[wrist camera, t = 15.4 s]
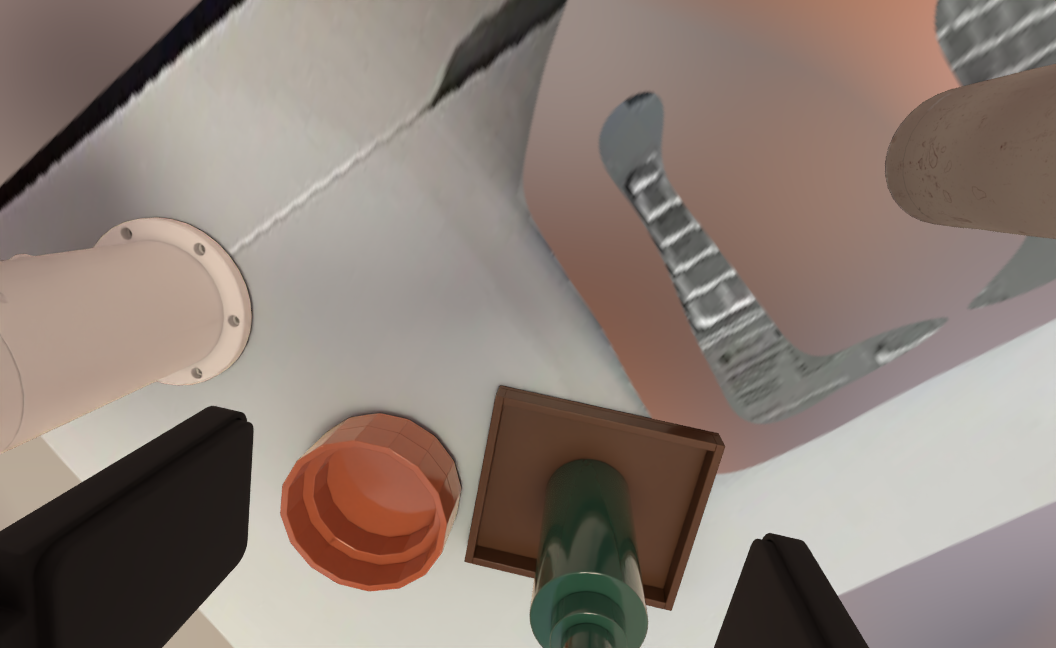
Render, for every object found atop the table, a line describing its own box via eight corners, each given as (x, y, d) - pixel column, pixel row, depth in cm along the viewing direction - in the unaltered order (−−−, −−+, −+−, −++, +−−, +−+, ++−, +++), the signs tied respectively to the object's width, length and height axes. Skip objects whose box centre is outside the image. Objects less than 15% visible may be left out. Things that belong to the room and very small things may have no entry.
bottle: (537, 522, 42) (507, 743, 25) (554, 449, 40) (533, 637, 24) (619, 541, 41) (641, 777, 25) (639, 469, 40) (677, 672, 23)
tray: (469, 545, 43) (464, 562, 41) (500, 384, 40) (495, 395, 38) (667, 591, 43) (671, 611, 41) (718, 433, 39) (725, 446, 37)
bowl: (309, 527, 45) (275, 569, 40) (321, 396, 41) (286, 424, 36) (449, 560, 44) (432, 607, 39) (472, 430, 41) (457, 463, 36)
